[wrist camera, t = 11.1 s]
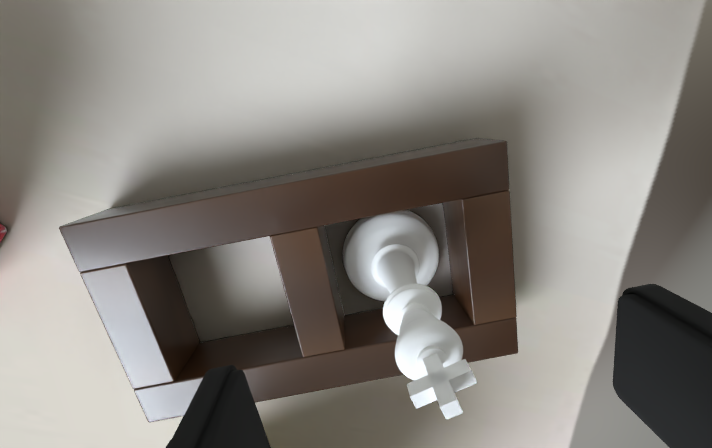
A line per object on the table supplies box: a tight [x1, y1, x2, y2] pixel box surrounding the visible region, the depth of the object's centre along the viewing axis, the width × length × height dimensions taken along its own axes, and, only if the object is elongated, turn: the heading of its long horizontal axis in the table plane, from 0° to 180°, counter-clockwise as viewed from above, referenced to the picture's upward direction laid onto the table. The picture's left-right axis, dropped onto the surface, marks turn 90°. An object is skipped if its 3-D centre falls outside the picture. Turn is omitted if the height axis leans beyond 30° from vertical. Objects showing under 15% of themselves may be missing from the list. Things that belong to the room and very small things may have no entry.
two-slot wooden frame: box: [59, 138, 518, 422], centre depth 16 cm, size 10×18×3 cm, turn 100°
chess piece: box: [343, 210, 477, 420], centre depth 13 cm, size 5×5×10 cm
